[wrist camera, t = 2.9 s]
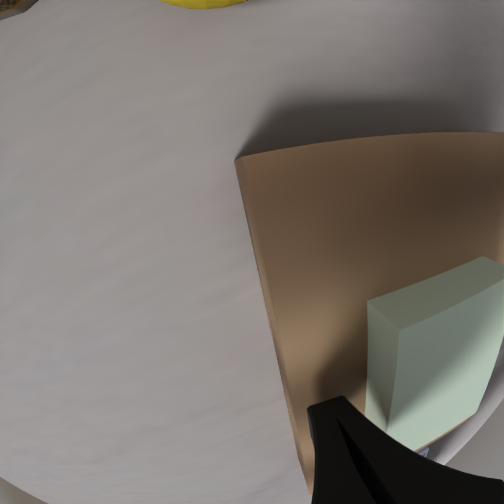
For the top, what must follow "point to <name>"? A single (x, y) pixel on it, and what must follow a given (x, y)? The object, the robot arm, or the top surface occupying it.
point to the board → (360, 245)
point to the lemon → (203, 3)
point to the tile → (433, 351)
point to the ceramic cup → (14, 7)
